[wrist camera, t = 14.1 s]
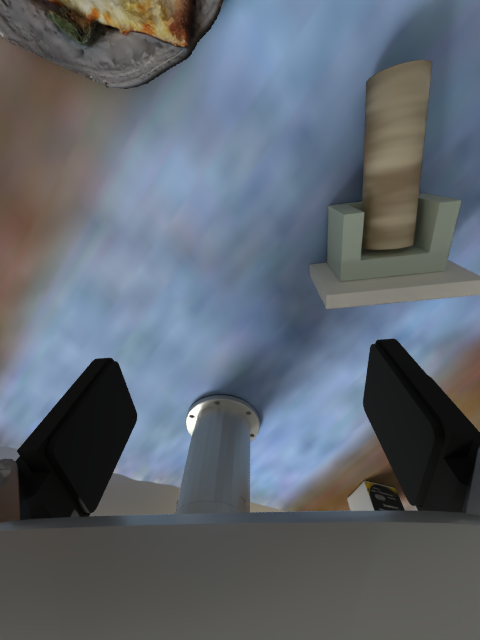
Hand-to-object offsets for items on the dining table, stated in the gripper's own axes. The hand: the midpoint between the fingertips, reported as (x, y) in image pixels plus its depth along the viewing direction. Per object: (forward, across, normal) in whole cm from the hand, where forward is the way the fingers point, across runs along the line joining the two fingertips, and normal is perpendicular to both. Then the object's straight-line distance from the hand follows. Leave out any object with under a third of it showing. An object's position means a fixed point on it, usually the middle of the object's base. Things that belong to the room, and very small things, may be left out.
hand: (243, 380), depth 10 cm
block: (+25, -14, 0) cm, 29 cm away
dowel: (+24, -14, -6) cm, 28 cm away
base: (+26, -14, +4) cm, 30 cm away
